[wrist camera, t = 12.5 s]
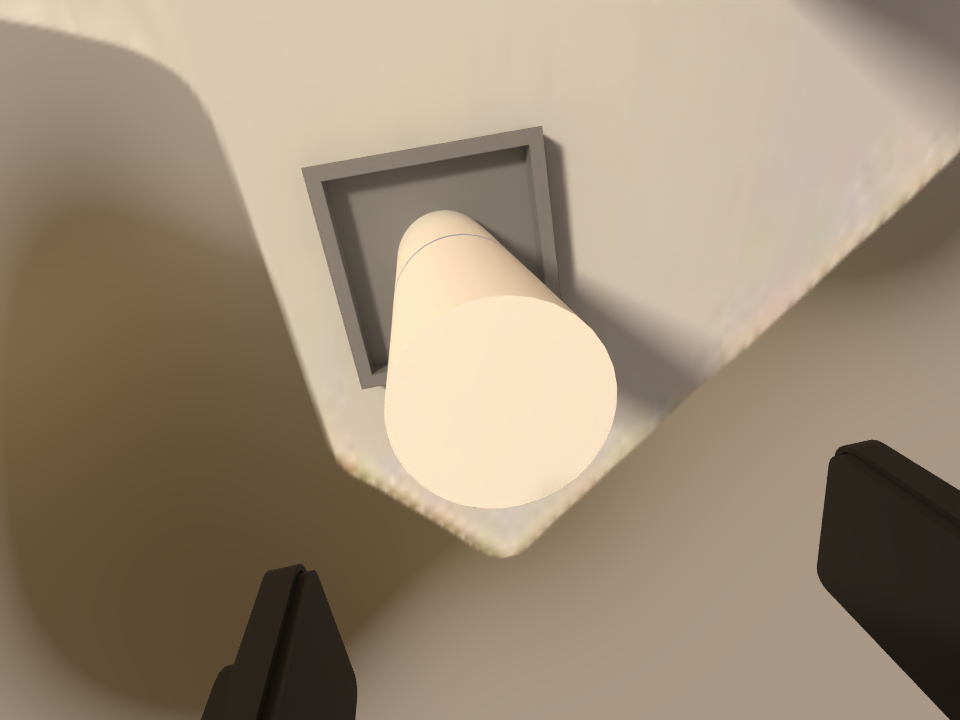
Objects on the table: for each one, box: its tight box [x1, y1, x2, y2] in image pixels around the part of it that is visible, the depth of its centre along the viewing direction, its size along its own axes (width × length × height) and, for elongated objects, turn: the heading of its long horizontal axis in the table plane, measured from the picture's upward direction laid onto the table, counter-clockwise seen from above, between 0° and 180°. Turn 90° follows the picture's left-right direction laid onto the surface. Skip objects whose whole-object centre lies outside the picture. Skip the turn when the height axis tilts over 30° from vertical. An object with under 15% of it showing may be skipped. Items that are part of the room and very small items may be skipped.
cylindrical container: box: [384, 210, 617, 508], centre depth 28 cm, size 7×7×25 cm
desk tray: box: [301, 126, 561, 389], centre depth 39 cm, size 16×16×2 cm
